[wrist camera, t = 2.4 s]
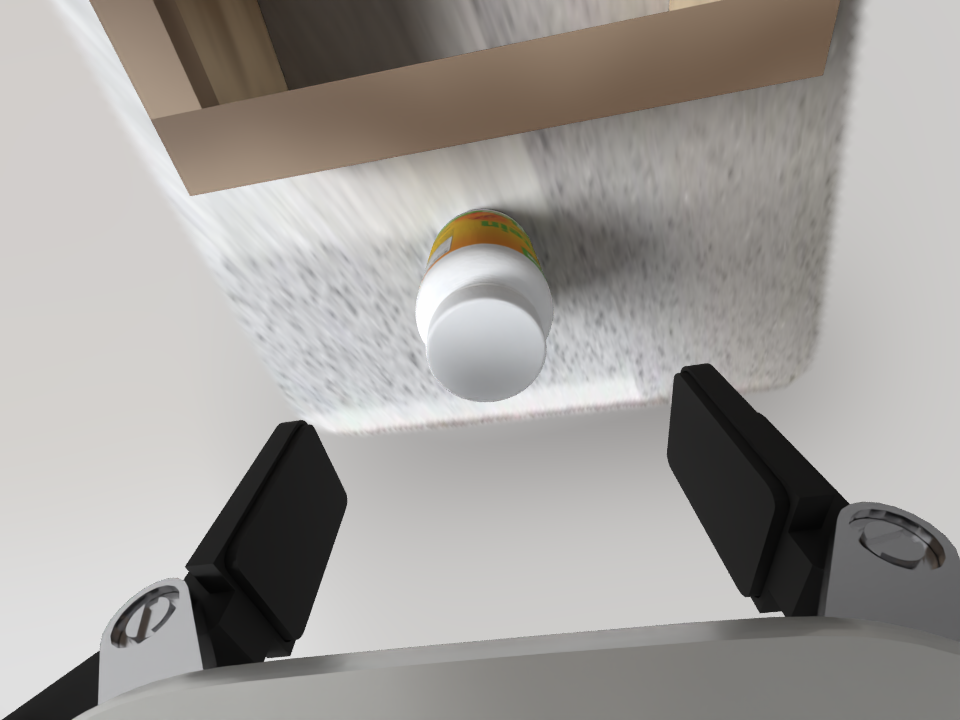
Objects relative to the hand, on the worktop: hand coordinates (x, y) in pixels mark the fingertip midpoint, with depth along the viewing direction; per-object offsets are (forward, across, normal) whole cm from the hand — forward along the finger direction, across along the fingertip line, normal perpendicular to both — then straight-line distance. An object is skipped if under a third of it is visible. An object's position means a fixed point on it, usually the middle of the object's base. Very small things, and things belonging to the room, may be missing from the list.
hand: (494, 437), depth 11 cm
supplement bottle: (+13, 0, -1) cm, 13 cm away
